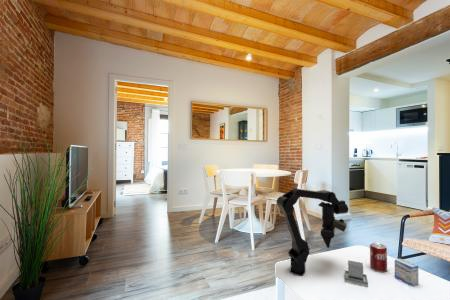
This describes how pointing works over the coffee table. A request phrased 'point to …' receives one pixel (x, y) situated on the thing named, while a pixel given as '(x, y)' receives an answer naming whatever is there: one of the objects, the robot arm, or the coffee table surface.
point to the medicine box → (406, 272)
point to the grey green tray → (355, 281)
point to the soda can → (378, 257)
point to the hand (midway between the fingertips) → (328, 244)
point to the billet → (355, 270)
